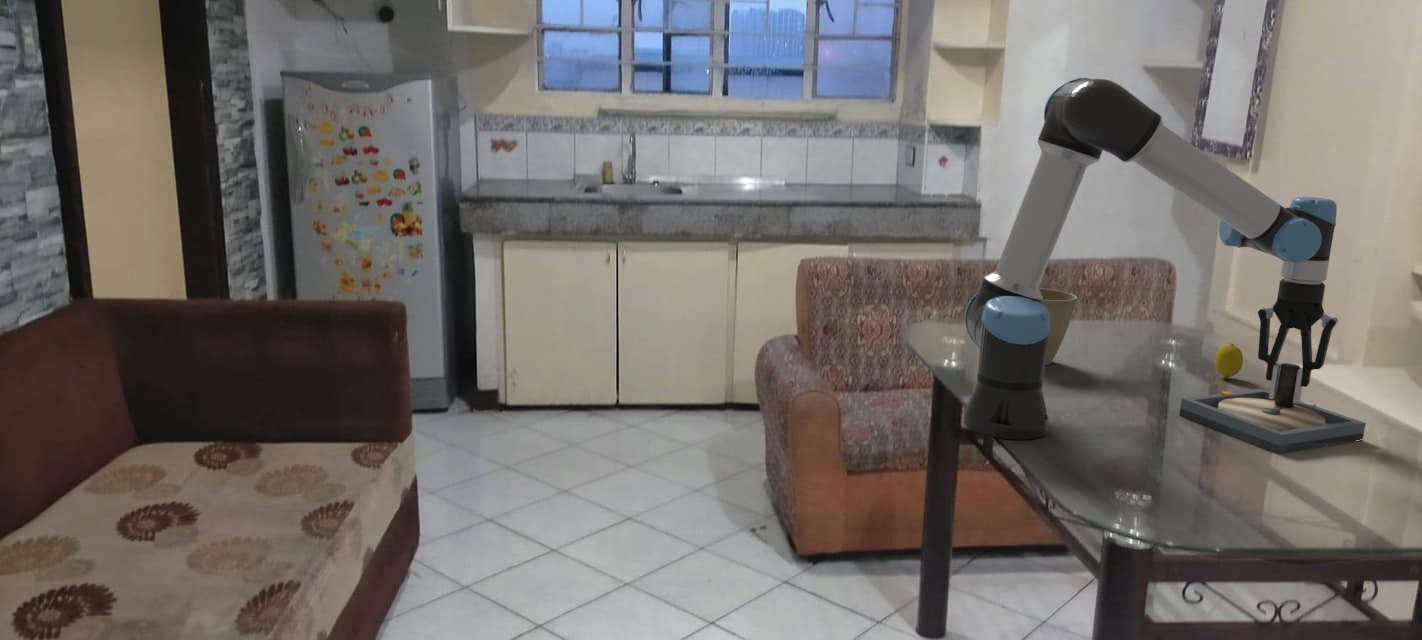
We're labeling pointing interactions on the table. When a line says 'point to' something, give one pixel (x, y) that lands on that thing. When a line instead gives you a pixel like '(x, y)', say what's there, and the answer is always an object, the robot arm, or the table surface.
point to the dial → (1275, 406)
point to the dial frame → (1331, 433)
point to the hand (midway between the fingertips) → (1284, 399)
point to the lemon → (1229, 360)
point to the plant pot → (1057, 318)
